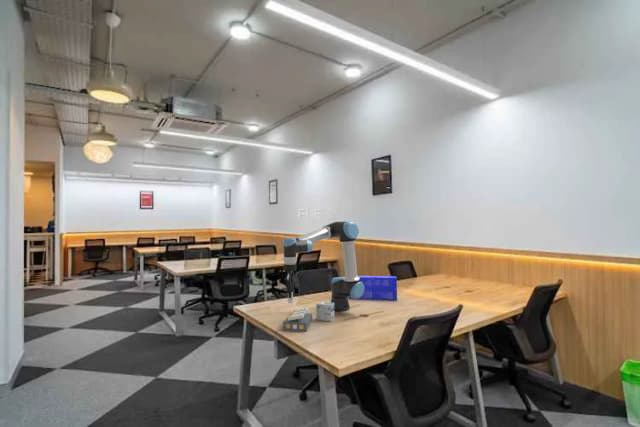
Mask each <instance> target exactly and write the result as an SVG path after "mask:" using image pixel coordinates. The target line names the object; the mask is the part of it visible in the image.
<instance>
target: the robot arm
mask: <svg viewBox="0 0 640 427" xmlns="http://www.w3.org/2000/svg"><path fill="white" fill-rule="evenodd" d="M359 231H360V230H359V227H358V225H357V224H356V223H355V222H353V221H334V222H331V223H329V224H327V225H323V226H322V228H320V229H317V230H314V231H311V232H308V233H305V234H303V235H299V236H296V237H285V238H284V239H283V242H282V249H283V258H282V259H283V271H284V272H286V275H285V284H286V285H285V286H286V293H287V303H288V304H293V303H294V295H293V294H294V292H295V288H294V286H295V273H294V271H296V270H297V254H302V253H310V252H311V251H313V246H314V245H313V244H314V243H317V242H319V241H322V240H324V239H326V240H329V239H334V238H338V239H339V243H341V246H342V257H343V267H344V268H343V269H344V276H339V277H336V276H335V277H333V278H332V279H331V299H330V302H331V303H334V312H347V311H349V310H351V308H350V307H351V305H350V302H349V300H348V298H349V297H351V298H356V299H355V300H358V299H357V298H360V297H361V296H362V294H363V293H364V284H363V283H362V282H360V277H358V276H359V275H358V267H357V258H356V248H355V242H356V241H357V237H359V233H360V232H359Z"/></svg>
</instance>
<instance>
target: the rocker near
mask: <svg viewBox="0 0 640 427" xmlns="http://www.w3.org/2000/svg"><path fill="white" fill-rule="evenodd" d="M287 317H288V321H289V320H294V319H300V318H303V317H304V313H301V314H295V315H290V314H289V315H288V316H287Z"/></svg>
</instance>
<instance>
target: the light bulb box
mask: <svg viewBox="0 0 640 427" xmlns="http://www.w3.org/2000/svg"><path fill="white" fill-rule="evenodd" d="M315 305H316V313H315V314H316V315H315V316H316V320H317V321H324V322H333V321H334V319H335V311H334V303H331V301H330V302H328V301H318V302H317V303H316V304H315Z"/></svg>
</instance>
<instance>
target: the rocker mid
mask: <svg viewBox="0 0 640 427" xmlns="http://www.w3.org/2000/svg"><path fill="white" fill-rule="evenodd" d="M290 313H291V314H289V315H295V314H301V313H304V315H305V314H306V313H307V312H306V310H303V311H298V312H293V311H292V312H290Z"/></svg>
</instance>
